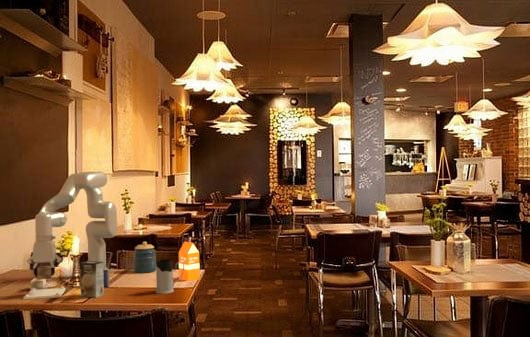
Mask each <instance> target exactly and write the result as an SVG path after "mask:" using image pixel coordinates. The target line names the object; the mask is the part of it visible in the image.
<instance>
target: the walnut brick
mask: <svg viewBox="0 0 530 337" xmlns="http://www.w3.org/2000/svg"><path fill="white" fill-rule="evenodd" d="M51 268H52V266H51V265H43V266H42V265H40V266H37V277H36V278H37V280H40V279H47V280H48V279H52V276H51Z"/></svg>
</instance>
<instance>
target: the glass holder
mask: <svg viewBox="0 0 530 337" xmlns="http://www.w3.org/2000/svg"><path fill="white" fill-rule="evenodd" d="M179 263H182V262H179V261H178V262H176V263H175V266H174V267H175V268H174V270H173V260H172V259H168V258H167V259H157V260H156V271H155V272H156V273H155V274H156V279H155V280H156V291H155V293H156V294H159V295H160V294H170V293H174V292H175V290H174V286H175V284H176V283H177V282H179V280H181V279H180V278H181V277H182V275H183V272H184V264H183V272H182V275H181V276H180V278H179V277H178V279H176V280H175V281H174V275H173V274H174V272H176V270H177V265H179Z"/></svg>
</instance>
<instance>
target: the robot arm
mask: <svg viewBox="0 0 530 337" xmlns="http://www.w3.org/2000/svg"><path fill="white" fill-rule="evenodd" d="M107 183H108V176H107V174H106V173H105V172H103V171H83V172H75V173H72V174H70V175H68V177H67V178H66V180H65V182H64V184H63V185H62V187H61V189H60V190H59V193H58V194H56V195H54V196H53V197H52V198H50V199H49V200H47V201H46V203H44V204H43V206H42V207H41V209H40V211H39V212H38V213H37V214H36V215H35V216H34V217H35V219H34V222H35V225H34V226H35V230H34V231H35V241H34V242H33V248H32V255H31V256H30V257H29V258H28V259H27V260H26V262H27V264H29V266H30V267H31V268H32V269H33V275H34V278H37V268H38V265H39V264H42V263H45V264H46V263H47V264H48V263H49V264H50V266H51V277H53V276H54V275H55V274H56V270H55V269H56V266H57V265H59V264H60V262H61V261H62V257H61V256H59V255H57V251H56V243H55V241H54V240H55V239H56V236H54V235H53V228H62V227H64V226H65V225H66V224H67V221H68V217H67V216H66V214H65V213H64V212H61V211H57V210H59V209H61V208H63V207H67V206H69V205H71V204H73V203H74V202H75V200H76V198H77V197H78V195H79V193H80V191H82V190H83V191H84V192H85V194H86V204H87V206H86V208H87V215H88V217H89V218H91V219H104V220H91V221H89V222H87V224H86V226H85V234H86V240H87V257H88V259H87V261H101V262H103V269H108V267H107V255H106V254H107V253H106V252H107V251H106V248H107V247H106V246H107V245H106V242H105V240H104V239H106V238H107V239H111V238H114V237H115V236H116V235H117V232H118V215H117V214H118V213H117V207H116V205H115V203H114V202H112V201H110V200H109V201H104V198H103V191H102V189H101V188H104V187H105V186H106V185H107ZM114 273H115V269H109V274H114Z"/></svg>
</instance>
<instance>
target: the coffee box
mask: <svg viewBox="0 0 530 337" xmlns="http://www.w3.org/2000/svg"><path fill="white" fill-rule="evenodd" d="M79 269H80V270H79V272H80V297H86V298H99V297H102V296H104V291H105V290H104V288H105V287H104V278H103V277H104V276H103V262H101V261H88V260H86V261H82V262H80V268H79Z"/></svg>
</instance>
